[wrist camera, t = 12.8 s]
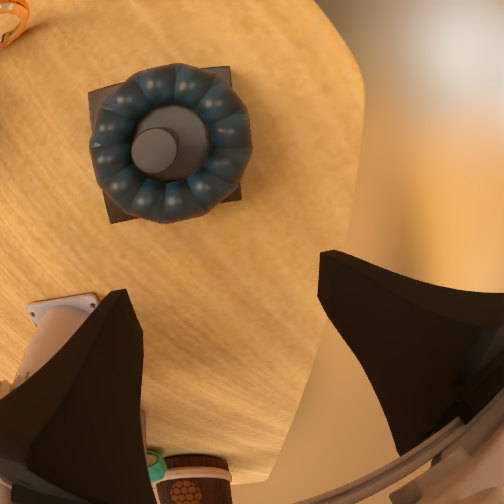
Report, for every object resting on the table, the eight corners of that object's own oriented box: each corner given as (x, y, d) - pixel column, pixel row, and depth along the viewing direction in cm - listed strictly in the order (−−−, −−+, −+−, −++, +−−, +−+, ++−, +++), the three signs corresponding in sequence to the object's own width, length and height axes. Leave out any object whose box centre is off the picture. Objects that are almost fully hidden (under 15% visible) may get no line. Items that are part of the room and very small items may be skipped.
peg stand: (238, 195, 19) (265, 231, 13) (114, 218, 17) (86, 264, 11) (227, 69, 15) (251, 40, 9) (93, 94, 13) (49, 82, 7)
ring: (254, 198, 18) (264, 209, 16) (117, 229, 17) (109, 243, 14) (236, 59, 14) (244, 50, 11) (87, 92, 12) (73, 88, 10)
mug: (215, 447, 35) (235, 526, 22) (236, 468, 43) (253, 527, 30) (113, 458, 33) (117, 528, 20) (150, 479, 40) (158, 535, 27)
